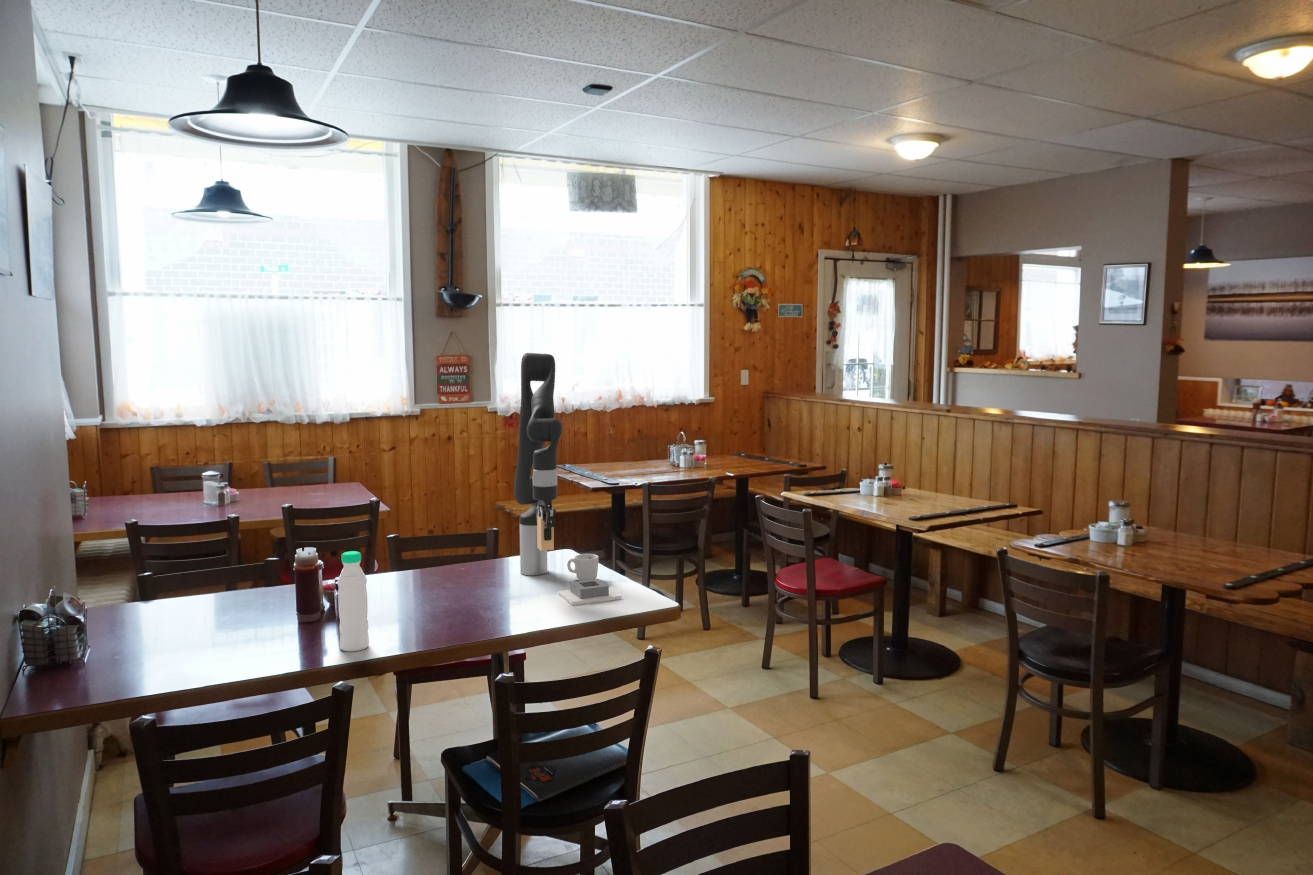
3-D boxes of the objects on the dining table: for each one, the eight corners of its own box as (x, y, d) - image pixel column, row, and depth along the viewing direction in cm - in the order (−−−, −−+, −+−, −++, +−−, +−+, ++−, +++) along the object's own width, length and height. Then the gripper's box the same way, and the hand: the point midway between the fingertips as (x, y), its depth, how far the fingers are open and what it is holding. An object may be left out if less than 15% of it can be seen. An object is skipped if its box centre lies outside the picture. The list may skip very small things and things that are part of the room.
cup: (563, 581, 287) (562, 557, 286) (572, 575, 294) (572, 552, 294) (593, 584, 284) (593, 560, 283) (602, 577, 291) (602, 554, 290)
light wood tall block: (537, 547, 269) (537, 508, 267) (549, 546, 270) (549, 507, 269) (541, 550, 265) (540, 510, 264) (553, 549, 267) (553, 509, 265)
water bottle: (359, 641, 229) (355, 548, 226) (374, 646, 224) (371, 552, 222) (334, 648, 223) (330, 552, 221) (349, 654, 219) (346, 557, 216)
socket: (558, 594, 272) (557, 581, 271) (605, 588, 279) (605, 576, 278) (572, 605, 260) (571, 592, 260) (621, 598, 267) (621, 586, 266)
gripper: (564, 486, 261) (564, 542, 263) (549, 479, 273) (550, 532, 275) (540, 487, 257) (540, 544, 259) (526, 480, 270) (527, 534, 272)
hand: (545, 538), depth 267 cm, fingers closed on light wood tall block, 4 cm apart
